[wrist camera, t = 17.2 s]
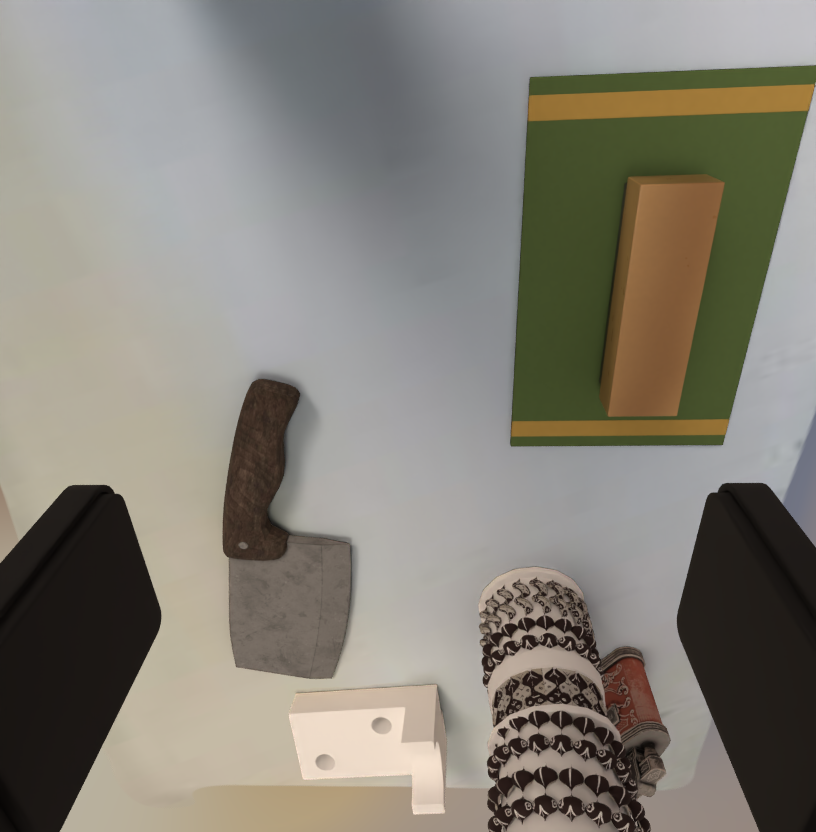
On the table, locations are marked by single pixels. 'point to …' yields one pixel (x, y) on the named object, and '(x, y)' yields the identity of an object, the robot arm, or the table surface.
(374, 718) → the bracket
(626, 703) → the lighter
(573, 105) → the cloth
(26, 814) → the robot arm
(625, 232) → the chalkboard eraser
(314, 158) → the table surface
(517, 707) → the decorative candle
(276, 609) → the cleaver
